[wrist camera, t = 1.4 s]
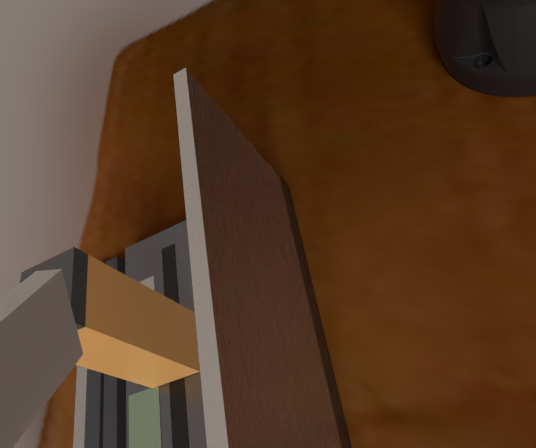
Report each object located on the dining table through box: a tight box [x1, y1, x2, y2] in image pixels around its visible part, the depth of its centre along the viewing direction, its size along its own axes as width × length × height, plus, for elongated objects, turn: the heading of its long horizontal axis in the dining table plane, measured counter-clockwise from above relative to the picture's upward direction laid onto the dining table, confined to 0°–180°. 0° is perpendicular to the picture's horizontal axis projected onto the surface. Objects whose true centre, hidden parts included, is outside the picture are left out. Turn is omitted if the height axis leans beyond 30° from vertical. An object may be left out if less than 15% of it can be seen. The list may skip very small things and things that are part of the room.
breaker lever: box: [20, 247, 200, 388], centre depth 36 cm, size 5×4×13 cm
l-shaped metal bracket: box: [125, 68, 352, 448], centre depth 35 cm, size 26×17×16 cm, turn 12°
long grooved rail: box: [73, 257, 126, 448], centre depth 44 cm, size 26×5×1 cm, turn 12°
